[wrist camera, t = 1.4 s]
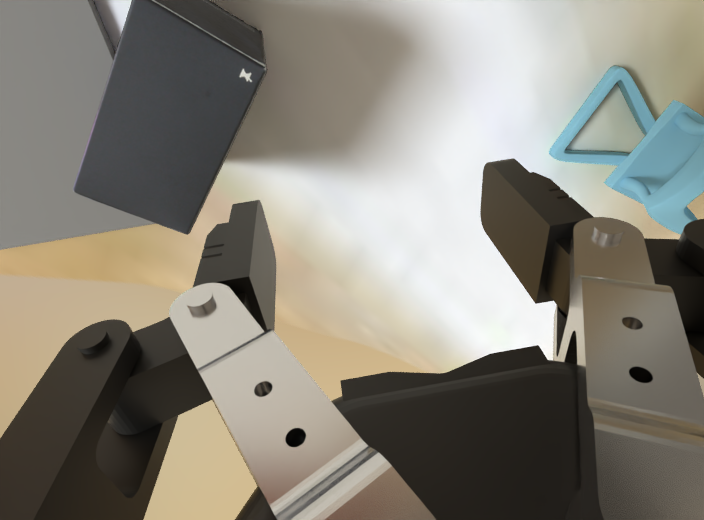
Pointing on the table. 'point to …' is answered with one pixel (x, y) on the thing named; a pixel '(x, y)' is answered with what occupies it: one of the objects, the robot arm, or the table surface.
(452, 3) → the table surface
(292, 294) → the table surface
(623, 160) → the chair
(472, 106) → the table surface
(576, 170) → the table surface
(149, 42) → the small box
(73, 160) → the mat
